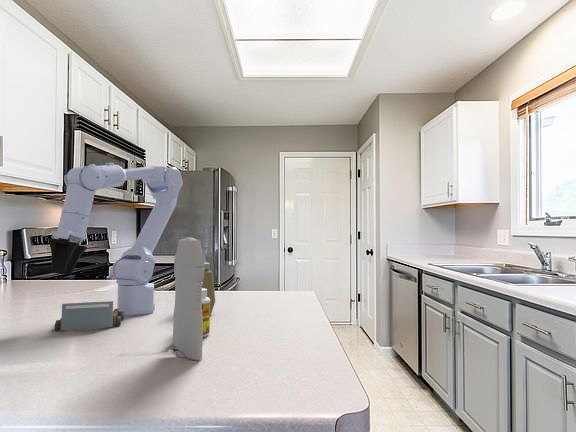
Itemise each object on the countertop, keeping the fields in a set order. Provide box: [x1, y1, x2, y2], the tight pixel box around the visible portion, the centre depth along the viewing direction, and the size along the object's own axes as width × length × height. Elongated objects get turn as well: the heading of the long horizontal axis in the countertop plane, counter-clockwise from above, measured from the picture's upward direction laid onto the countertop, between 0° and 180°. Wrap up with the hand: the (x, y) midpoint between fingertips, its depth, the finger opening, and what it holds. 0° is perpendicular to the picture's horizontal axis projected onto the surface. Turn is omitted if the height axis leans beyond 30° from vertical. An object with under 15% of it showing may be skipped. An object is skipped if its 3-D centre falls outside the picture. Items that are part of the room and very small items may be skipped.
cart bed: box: [53, 308, 124, 332], centre depth 85 cm, size 13×8×4 cm, turn 110°
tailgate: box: [60, 300, 114, 331], centre depth 80 cm, size 10×1×6 cm, turn 110°
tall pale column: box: [172, 236, 206, 362], centre depth 69 cm, size 11×4×22 cm, turn 44°
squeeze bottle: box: [201, 249, 216, 315], centre depth 102 cm, size 8×8×18 cm
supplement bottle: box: [202, 288, 211, 339], centre depth 81 cm, size 6×6×10 cm
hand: (61, 273), depth 82 cm, fingers open, 7 cm apart
